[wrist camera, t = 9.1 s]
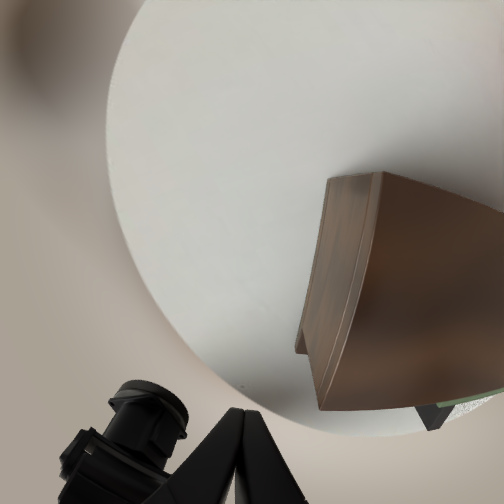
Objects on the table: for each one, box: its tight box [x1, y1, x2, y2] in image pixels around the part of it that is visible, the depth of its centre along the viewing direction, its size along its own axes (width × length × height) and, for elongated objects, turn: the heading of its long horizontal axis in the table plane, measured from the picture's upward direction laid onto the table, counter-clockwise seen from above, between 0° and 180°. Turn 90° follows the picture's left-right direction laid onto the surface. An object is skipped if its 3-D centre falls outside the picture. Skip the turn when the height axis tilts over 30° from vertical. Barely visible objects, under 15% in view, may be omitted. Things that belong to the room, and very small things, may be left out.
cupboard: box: [295, 171, 504, 411], centre depth 14 cm, size 12×18×9 cm
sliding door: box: [414, 388, 504, 431], centre depth 15 cm, size 3×9×6 cm, turn 82°
